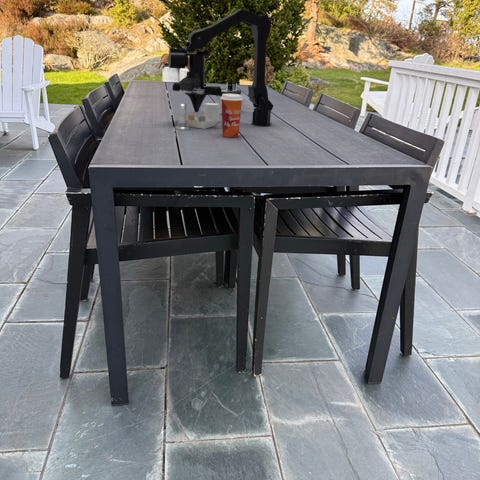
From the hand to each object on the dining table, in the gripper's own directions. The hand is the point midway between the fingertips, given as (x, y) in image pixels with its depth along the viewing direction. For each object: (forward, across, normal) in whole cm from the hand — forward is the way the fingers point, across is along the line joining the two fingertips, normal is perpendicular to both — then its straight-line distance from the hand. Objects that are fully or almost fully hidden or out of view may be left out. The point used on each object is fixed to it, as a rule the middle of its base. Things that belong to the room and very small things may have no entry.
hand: (196, 112), depth 169 cm
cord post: (+5, 0, -10) cm, 11 cm away
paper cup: (+5, +20, -8) cm, 22 cm away
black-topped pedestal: (+6, -6, +36) cm, 36 cm away
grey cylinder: (+5, 0, +12) cm, 13 cm away
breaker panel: (+5, 0, 0) cm, 5 cm away
